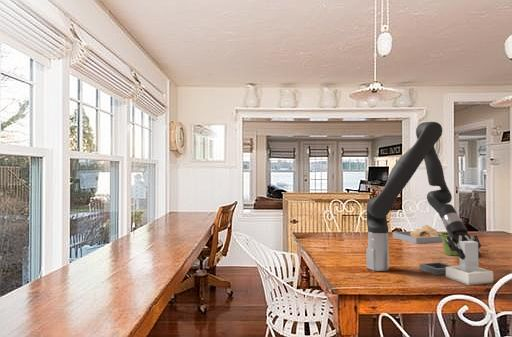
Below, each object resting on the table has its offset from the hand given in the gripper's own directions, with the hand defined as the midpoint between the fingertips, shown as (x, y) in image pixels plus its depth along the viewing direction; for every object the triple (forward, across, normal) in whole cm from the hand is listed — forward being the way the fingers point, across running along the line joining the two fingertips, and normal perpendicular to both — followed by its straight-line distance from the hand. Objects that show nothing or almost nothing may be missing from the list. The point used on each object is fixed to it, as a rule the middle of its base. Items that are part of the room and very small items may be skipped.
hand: (471, 258), depth 167 cm
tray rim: (-61, +29, +75) cm, 101 cm away
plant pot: (-28, +22, +42) cm, 55 cm away
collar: (-5, -5, +19) cm, 20 cm away
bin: (+6, 0, +8) cm, 10 cm away
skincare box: (+3, 0, +5) cm, 6 cm away
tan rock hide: (-57, +30, +72) cm, 97 cm away
